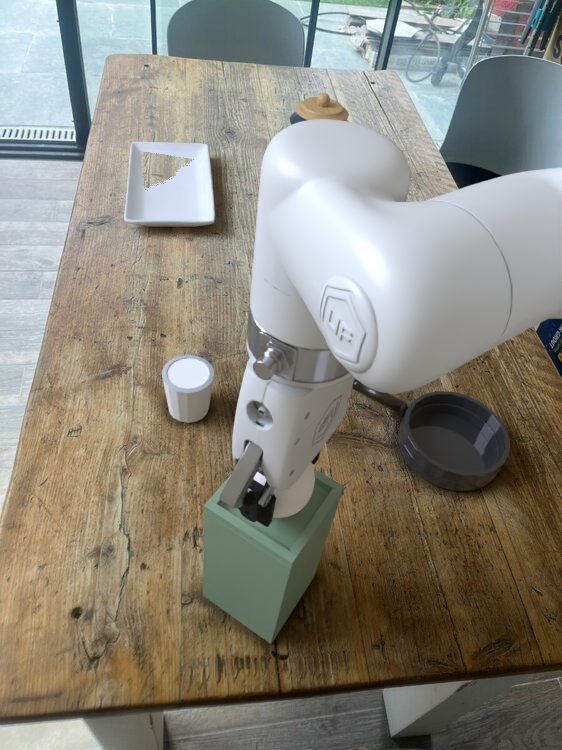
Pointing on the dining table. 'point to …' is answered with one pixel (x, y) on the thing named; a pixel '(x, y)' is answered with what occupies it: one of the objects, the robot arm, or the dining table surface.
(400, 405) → the pan handle
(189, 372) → the white cylinder
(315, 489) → the stand
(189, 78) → the dining table surface
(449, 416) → the pan
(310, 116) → the canister
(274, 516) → the egg
